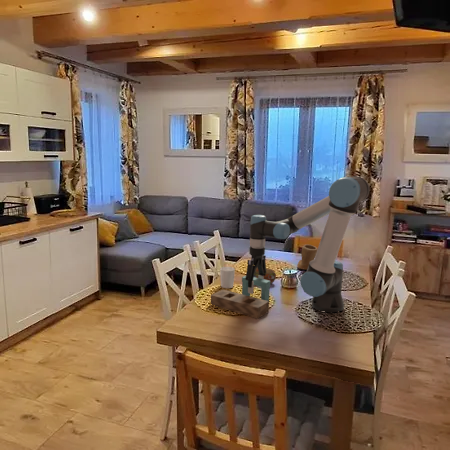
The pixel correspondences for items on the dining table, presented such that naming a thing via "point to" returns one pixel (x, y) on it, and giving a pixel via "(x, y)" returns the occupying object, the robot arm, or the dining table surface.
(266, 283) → the clip
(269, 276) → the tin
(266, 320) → the dining table surface
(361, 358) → the dining table surface
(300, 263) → the stone cup
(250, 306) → the wooden socket block
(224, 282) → the white cup
